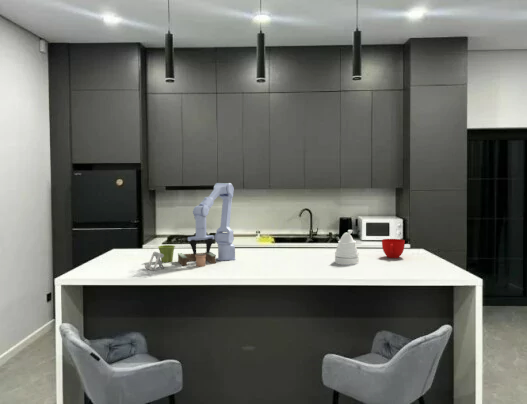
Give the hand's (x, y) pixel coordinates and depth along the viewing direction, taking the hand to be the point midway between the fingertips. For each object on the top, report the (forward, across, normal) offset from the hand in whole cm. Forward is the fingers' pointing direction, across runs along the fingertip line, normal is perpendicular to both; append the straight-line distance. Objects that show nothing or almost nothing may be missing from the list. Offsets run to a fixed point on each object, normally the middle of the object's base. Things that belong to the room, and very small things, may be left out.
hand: (201, 253), depth 241 cm
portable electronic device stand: (+7, +24, -6) cm, 25 cm away
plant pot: (+7, +11, -23) cm, 26 cm away
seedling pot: (+7, 0, 0) cm, 7 cm away
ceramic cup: (+8, -105, +37) cm, 112 cm away
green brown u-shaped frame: (+7, -2, -10) cm, 12 cm away
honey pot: (+7, -72, +34) cm, 80 cm away
